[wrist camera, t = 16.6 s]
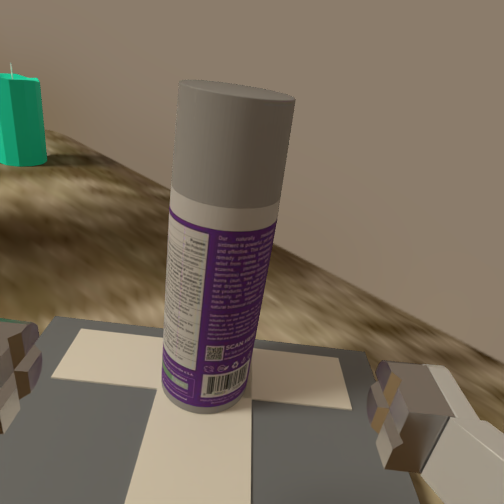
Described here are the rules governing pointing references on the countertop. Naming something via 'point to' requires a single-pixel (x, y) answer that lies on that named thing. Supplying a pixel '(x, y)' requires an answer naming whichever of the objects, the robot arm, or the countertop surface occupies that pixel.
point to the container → (220, 237)
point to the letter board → (192, 428)
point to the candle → (21, 121)
